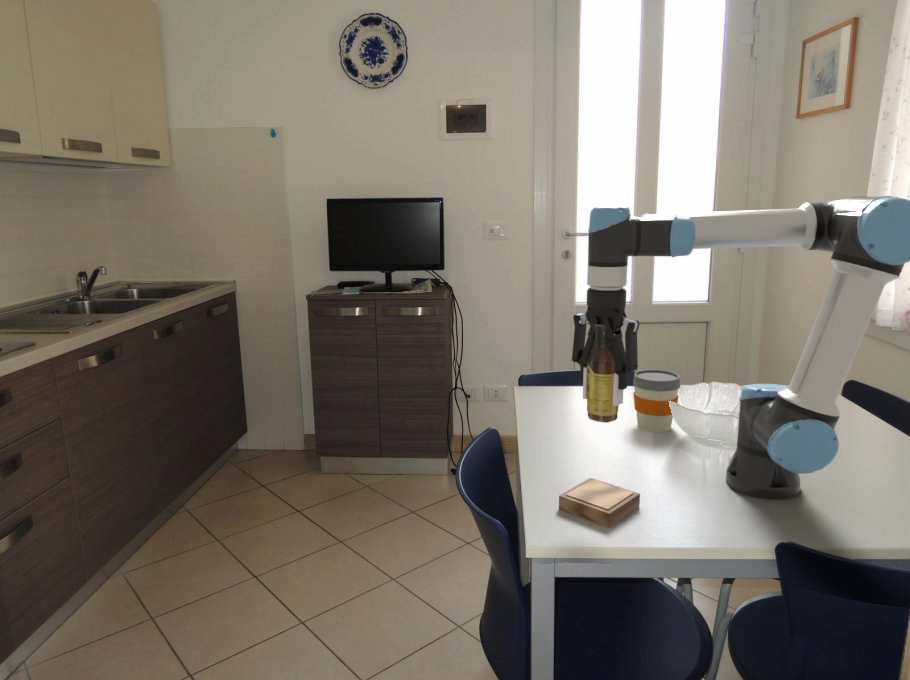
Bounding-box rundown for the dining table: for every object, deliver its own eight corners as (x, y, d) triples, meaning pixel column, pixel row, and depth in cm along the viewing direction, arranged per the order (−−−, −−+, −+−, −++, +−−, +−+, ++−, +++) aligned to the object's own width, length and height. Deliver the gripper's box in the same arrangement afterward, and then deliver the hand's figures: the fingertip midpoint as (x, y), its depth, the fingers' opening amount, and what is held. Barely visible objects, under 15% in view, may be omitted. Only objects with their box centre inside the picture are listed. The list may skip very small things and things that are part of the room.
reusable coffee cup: (687, 429, 185) (690, 377, 182) (652, 437, 180) (654, 383, 176) (655, 416, 196) (658, 367, 193) (621, 423, 191) (623, 372, 187)
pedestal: (639, 506, 140) (640, 492, 140) (609, 527, 132) (609, 512, 131) (590, 490, 148) (590, 476, 148) (558, 508, 140) (559, 494, 139)
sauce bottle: (595, 411, 140) (598, 318, 136) (623, 417, 136) (627, 322, 132) (580, 420, 135) (582, 323, 131) (608, 426, 132) (612, 327, 127)
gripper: (661, 289, 126) (655, 406, 131) (575, 281, 139) (573, 387, 144) (642, 294, 121) (636, 415, 126) (554, 285, 134) (552, 395, 139)
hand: (602, 400), depth 135 cm, fingers closed on sauce bottle, 6 cm apart
